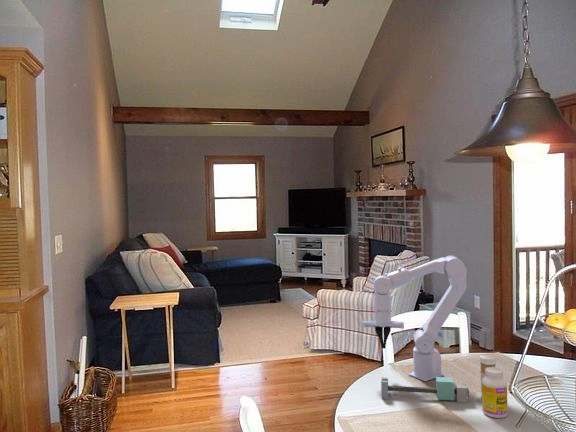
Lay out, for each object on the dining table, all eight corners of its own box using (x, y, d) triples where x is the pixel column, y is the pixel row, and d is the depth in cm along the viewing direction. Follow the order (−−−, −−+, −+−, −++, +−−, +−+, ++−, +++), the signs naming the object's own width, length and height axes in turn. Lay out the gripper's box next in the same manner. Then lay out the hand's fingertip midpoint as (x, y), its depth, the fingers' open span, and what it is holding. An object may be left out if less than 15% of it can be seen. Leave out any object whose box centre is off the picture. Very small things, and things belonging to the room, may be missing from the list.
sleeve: (437, 399, 146) (436, 381, 146) (436, 394, 150) (435, 376, 149) (454, 400, 145) (453, 382, 144) (453, 394, 148) (452, 377, 148)
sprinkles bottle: (500, 400, 145) (499, 356, 144) (490, 403, 143) (488, 359, 142) (487, 394, 149) (486, 352, 148) (477, 398, 147) (476, 355, 146)
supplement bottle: (497, 421, 132) (495, 375, 131) (477, 412, 138) (476, 368, 137) (513, 415, 135) (511, 370, 134) (493, 406, 141) (492, 364, 140)
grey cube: (457, 402, 145) (456, 387, 144) (456, 397, 148) (455, 383, 148) (469, 402, 144) (469, 388, 144) (467, 397, 147) (467, 383, 147)
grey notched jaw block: (381, 398, 149) (381, 382, 149) (382, 392, 154) (381, 376, 154) (388, 399, 149) (387, 382, 149) (388, 392, 154) (387, 376, 153)
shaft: (386, 391, 151) (386, 386, 150) (386, 389, 152) (386, 385, 152) (462, 395, 145) (462, 390, 145) (462, 393, 147) (461, 388, 147)
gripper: (361, 312, 166) (362, 350, 166) (403, 313, 163) (404, 352, 163) (362, 307, 173) (363, 344, 173) (403, 308, 170) (404, 345, 170)
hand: (383, 347), depth 169 cm, fingers closed
